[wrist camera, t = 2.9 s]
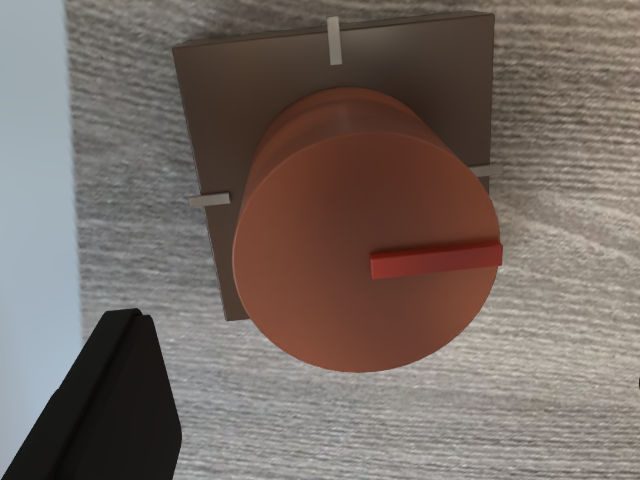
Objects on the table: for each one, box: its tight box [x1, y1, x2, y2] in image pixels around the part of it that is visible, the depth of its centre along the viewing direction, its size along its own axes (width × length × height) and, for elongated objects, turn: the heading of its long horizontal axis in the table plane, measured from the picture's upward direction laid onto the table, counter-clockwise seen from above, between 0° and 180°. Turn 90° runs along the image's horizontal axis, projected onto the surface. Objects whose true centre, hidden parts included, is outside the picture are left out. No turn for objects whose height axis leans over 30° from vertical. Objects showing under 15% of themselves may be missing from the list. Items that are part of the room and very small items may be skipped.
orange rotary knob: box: [232, 87, 503, 373], centre depth 16 cm, size 7×7×6 cm
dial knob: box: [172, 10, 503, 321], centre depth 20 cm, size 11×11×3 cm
